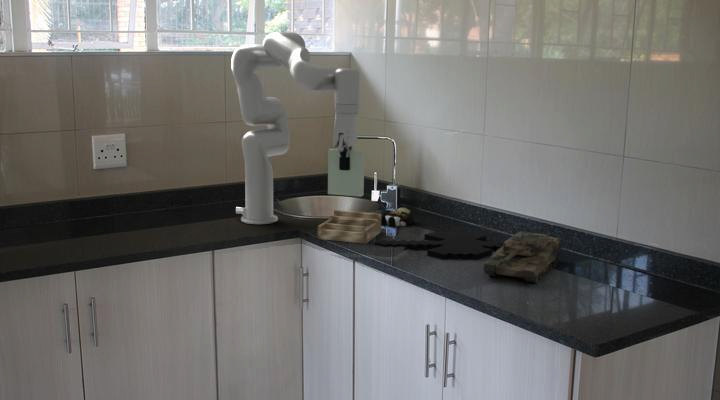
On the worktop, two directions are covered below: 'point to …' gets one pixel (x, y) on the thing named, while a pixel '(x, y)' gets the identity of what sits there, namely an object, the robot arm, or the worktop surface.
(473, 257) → the decorative axe
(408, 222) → the toy
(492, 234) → the worktop surface
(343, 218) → the offcut top
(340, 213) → the rack
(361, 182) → the board
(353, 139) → the robot arm
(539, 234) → the toy
